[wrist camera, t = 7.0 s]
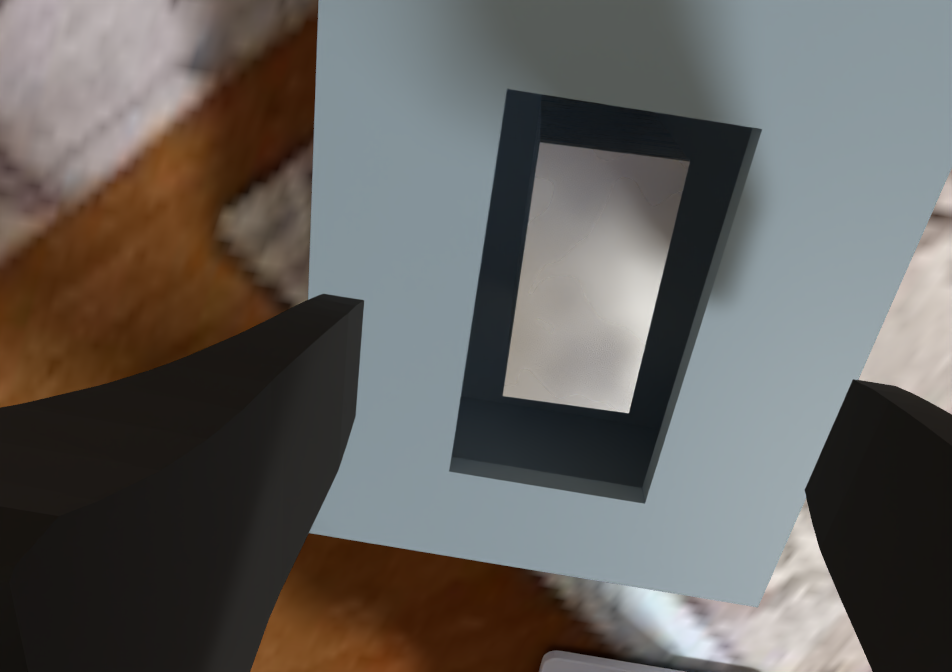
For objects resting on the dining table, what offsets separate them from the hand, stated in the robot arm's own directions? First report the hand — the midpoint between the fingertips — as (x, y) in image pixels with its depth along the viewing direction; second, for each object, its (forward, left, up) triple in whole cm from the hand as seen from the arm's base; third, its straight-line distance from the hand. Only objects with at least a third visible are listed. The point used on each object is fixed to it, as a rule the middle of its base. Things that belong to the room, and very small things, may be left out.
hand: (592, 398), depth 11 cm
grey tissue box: (0, 0, -8) cm, 8 cm away
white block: (+1, 0, -8) cm, 8 cm away
